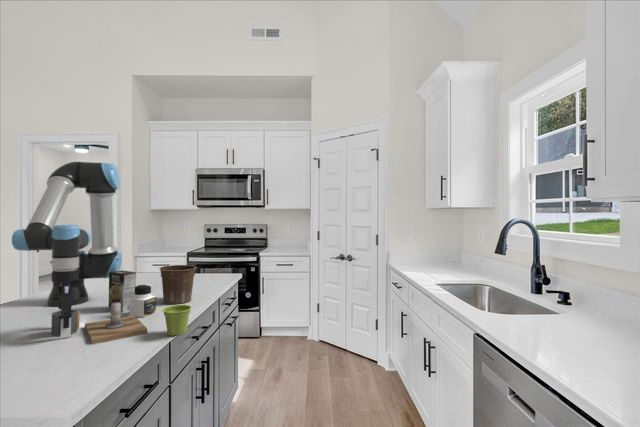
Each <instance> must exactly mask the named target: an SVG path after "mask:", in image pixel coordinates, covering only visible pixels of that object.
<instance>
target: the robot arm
mask: <svg viewBox="0 0 640 427" xmlns="http://www.w3.org/2000/svg"><path fill="white" fill-rule="evenodd" d="M120 183H121V178H120V173H119V171H118V169H117V166H115V165H114V164H112V163H107V162H92V161H91V162H90V161H89V162H88V161H87V162H86V161H71V162H67V163H65V164H62V165H61V166H58V168H56V169H55V170H54V171H53V172H52V173H51V174H50V175H49V177H48V178H47V180H46V186H47V187H46V189H45V191H44V193H43V195H42V196H41V199H40V201H39V203H38V205H37V207H36V208H35V211H34V213H33V215H32V217H31V218H30V221H29V222H28V225H27V226H26V228H21V229H16V230H14V231H13V233H12V236H11V245H12V247H13V248H14V249H15V250H17V251H28V252H31V251H51V259H52V260H50V261H49V264H51V270H52V272H51V282H52V288H51V291H50V293H49V295H48V298H47V303H46V304H48V305H47V306H49V305H50V306H49V307H58V311H61V315H62V316H60V317H59V319H61V334H60V336H59V337H60V339H66V338H70V337H71V336H72V334H71V316H72V314H71V310H72V306H74V305H80V304H83V303H86V302H88V301H89V293H88V291H87V288H86V285H85V280H87V279H89V280H90V279H92V280H93V279H109V272H113V271H121V266H122V261H123V258H122V257H123V256H122V255H123V254H122V253H121V252H118V248H117V247H116V246H114V219H113V218H114V217H113V214H114V213H113V196H114V195H115V194H116V192H117V191H118V190H119V189H120V187H121V185H120ZM75 189H85V194H87V196H89V205H90V208H89V210H90V229H91V230H90V231H91V232H88V231H87V230H86V229H83V228H80V226H79V225H78V224H57V221H58V219H59V216H60V214H61V212H62V210H63V208H64V205H65V203H66V201H67V198H68V196H69V195H70V194H71V193H72V192H74V190H75ZM116 190H117V191H116ZM90 233H91V235H90ZM90 243H91V248H90V249H88V250H87V253H86V251H85V250H82V249H84V248H86V247H87V246H88V245H89V244H90ZM65 313H68V314H65Z"/></svg>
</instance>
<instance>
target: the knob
mask: <svg viewBox="0 0 640 427" xmlns="http://www.w3.org/2000/svg"><path fill="white" fill-rule="evenodd" d="M65 314H68V313H65ZM71 314H72V316H71V335H73V334H75V333H77V332H78V330H80V311H78V310H77V309H71ZM60 316H62V315H61V311H59V310H58V311H54V312H52V313H51V337H60V334H61V319H59V317H60Z"/></svg>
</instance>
